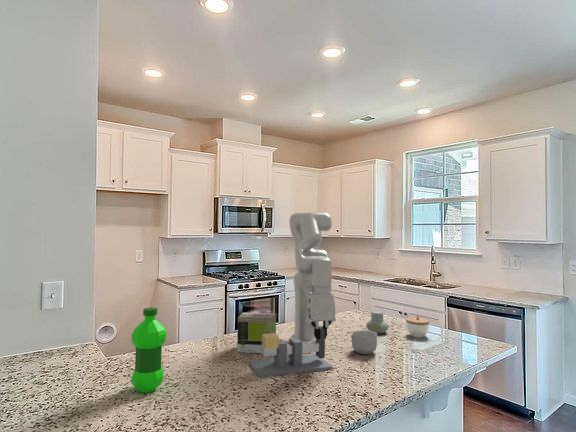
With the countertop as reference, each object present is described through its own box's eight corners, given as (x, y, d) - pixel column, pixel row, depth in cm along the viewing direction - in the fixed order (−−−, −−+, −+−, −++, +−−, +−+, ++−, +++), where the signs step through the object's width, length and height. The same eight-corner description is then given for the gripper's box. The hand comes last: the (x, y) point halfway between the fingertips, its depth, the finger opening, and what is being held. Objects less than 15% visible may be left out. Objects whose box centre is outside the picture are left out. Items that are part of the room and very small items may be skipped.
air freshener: (390, 332, 194) (390, 312, 194) (385, 335, 187) (385, 315, 187) (369, 328, 199) (369, 309, 200) (363, 332, 192) (364, 312, 193)
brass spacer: (261, 344, 141) (262, 334, 141) (274, 343, 143) (274, 333, 143) (265, 349, 137) (265, 337, 137) (278, 347, 138) (279, 336, 138)
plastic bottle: (152, 379, 127) (155, 304, 128) (171, 388, 120) (173, 309, 121) (123, 389, 119) (126, 308, 120) (141, 399, 112) (144, 314, 113)
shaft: (260, 360, 140) (261, 330, 141) (320, 354, 149) (320, 326, 149) (263, 364, 137) (264, 333, 137) (324, 358, 145) (325, 328, 145)
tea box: (275, 347, 165) (276, 312, 165) (272, 354, 155) (273, 318, 155) (241, 345, 166) (242, 311, 167) (236, 352, 156) (237, 316, 157)
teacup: (370, 358, 153) (370, 338, 154) (346, 352, 160) (346, 333, 160) (383, 350, 164) (384, 331, 165) (361, 344, 171) (361, 326, 171)
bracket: (249, 363, 144) (249, 338, 144) (316, 356, 153) (317, 333, 154) (258, 377, 131) (259, 349, 131) (332, 369, 140) (332, 343, 141)
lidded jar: (406, 337, 185) (406, 317, 185) (405, 331, 195) (406, 313, 195) (429, 339, 181) (429, 320, 182) (428, 334, 192) (428, 315, 192)
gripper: (306, 292, 141) (304, 342, 140) (344, 291, 146) (343, 339, 146) (298, 289, 148) (297, 337, 147) (335, 288, 153) (334, 334, 153)
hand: (320, 337), depth 147 cm, fingers closed on shaft, 2 cm apart
